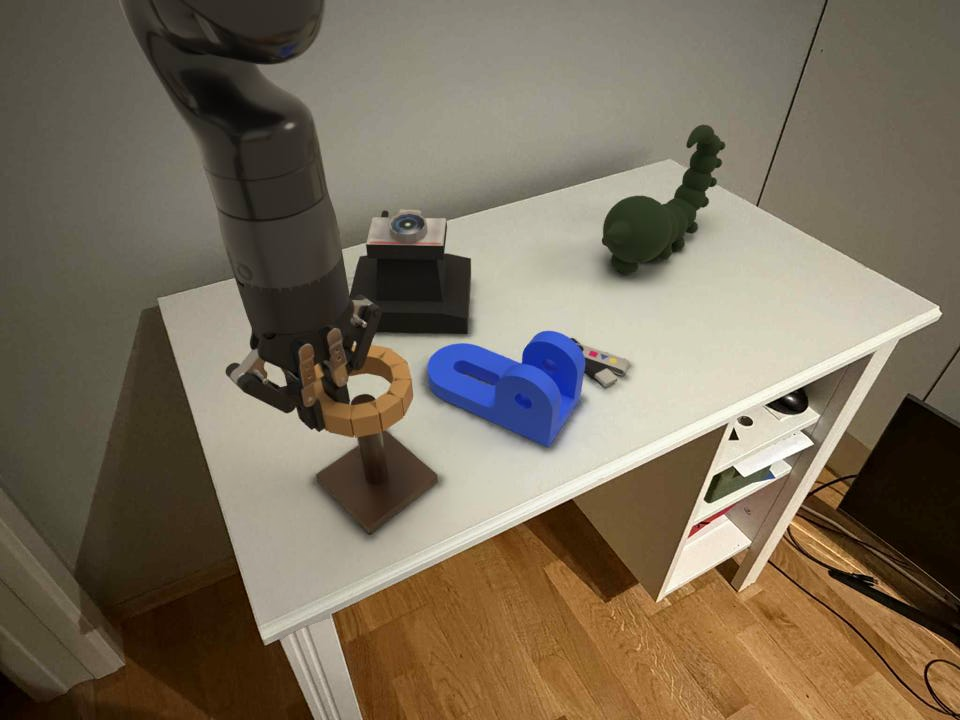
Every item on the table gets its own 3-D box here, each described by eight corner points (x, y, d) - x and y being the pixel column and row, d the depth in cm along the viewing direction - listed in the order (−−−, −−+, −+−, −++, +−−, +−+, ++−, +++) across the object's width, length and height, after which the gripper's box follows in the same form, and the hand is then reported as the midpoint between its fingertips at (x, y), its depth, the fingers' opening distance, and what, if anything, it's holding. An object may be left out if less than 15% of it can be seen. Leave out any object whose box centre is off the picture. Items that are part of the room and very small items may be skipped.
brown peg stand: (370, 535, 62) (353, 458, 54) (317, 481, 67) (294, 402, 59) (438, 481, 67) (432, 403, 59) (384, 434, 72) (372, 355, 63)
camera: (329, 252, 74) (350, 179, 84) (349, 336, 85) (365, 263, 95) (465, 254, 74) (470, 180, 84) (467, 339, 85) (472, 265, 95)
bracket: (579, 400, 76) (588, 343, 69) (548, 447, 70) (555, 391, 64) (452, 347, 82) (450, 291, 76) (414, 386, 77) (409, 330, 71)
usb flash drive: (558, 348, 82) (559, 342, 81) (590, 333, 84) (591, 328, 83) (603, 389, 77) (604, 383, 76) (635, 372, 79) (637, 366, 78)
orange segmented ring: (351, 454, 53) (347, 436, 52) (290, 397, 58) (284, 378, 56) (432, 397, 58) (431, 379, 56) (370, 349, 63) (367, 331, 61)
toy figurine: (662, 223, 107) (569, 273, 93) (694, 108, 95) (592, 146, 81) (712, 245, 102) (622, 301, 88) (752, 127, 90) (655, 171, 76)
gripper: (336, 197, 49) (363, 359, 61) (166, 270, 42) (234, 437, 54) (398, 234, 46) (414, 400, 58) (222, 321, 39) (282, 489, 50)
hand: (326, 417), depth 56 cm, fingers closed on orange segmented ring, 1 cm apart
